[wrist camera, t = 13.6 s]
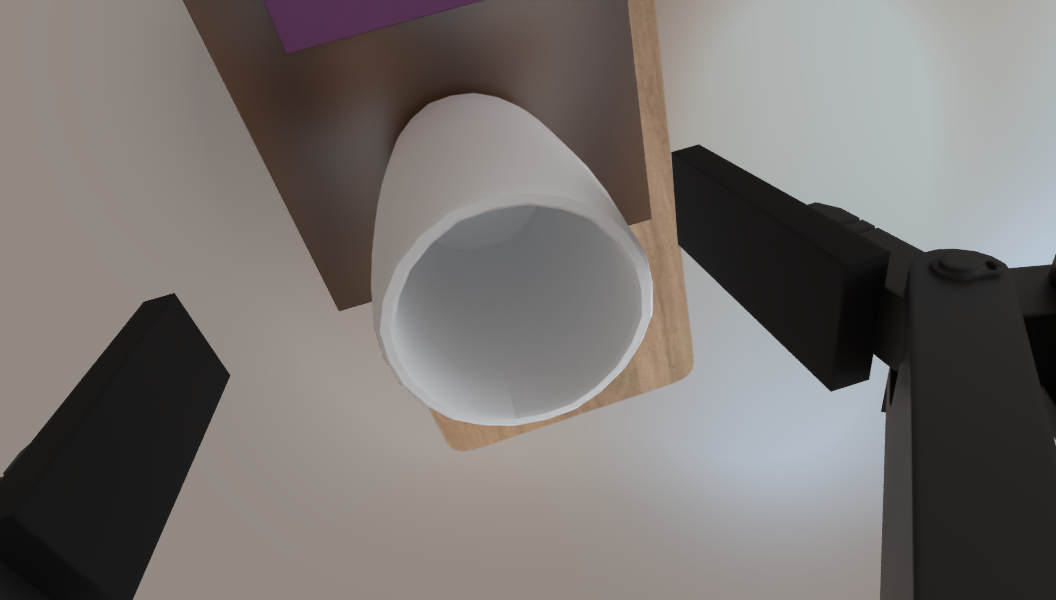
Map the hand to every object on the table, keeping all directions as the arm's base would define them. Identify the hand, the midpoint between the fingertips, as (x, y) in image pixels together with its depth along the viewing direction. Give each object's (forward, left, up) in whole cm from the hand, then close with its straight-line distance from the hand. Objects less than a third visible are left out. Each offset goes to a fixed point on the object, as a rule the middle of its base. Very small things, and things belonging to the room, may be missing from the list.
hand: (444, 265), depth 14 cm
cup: (+2, -1, -14) cm, 14 cm away
